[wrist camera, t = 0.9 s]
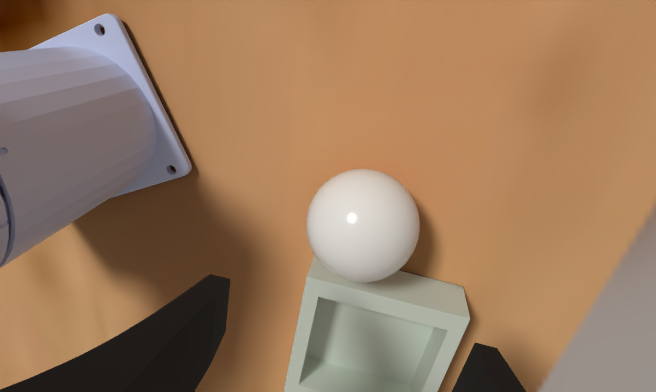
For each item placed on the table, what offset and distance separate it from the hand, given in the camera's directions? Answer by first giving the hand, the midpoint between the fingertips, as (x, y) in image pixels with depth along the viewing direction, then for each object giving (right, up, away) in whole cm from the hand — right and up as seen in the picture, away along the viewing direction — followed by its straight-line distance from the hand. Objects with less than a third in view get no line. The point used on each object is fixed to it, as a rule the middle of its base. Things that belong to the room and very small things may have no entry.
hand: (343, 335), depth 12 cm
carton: (+1, -7, +13) cm, 15 cm away
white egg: (+2, +4, +8) cm, 9 cm away
